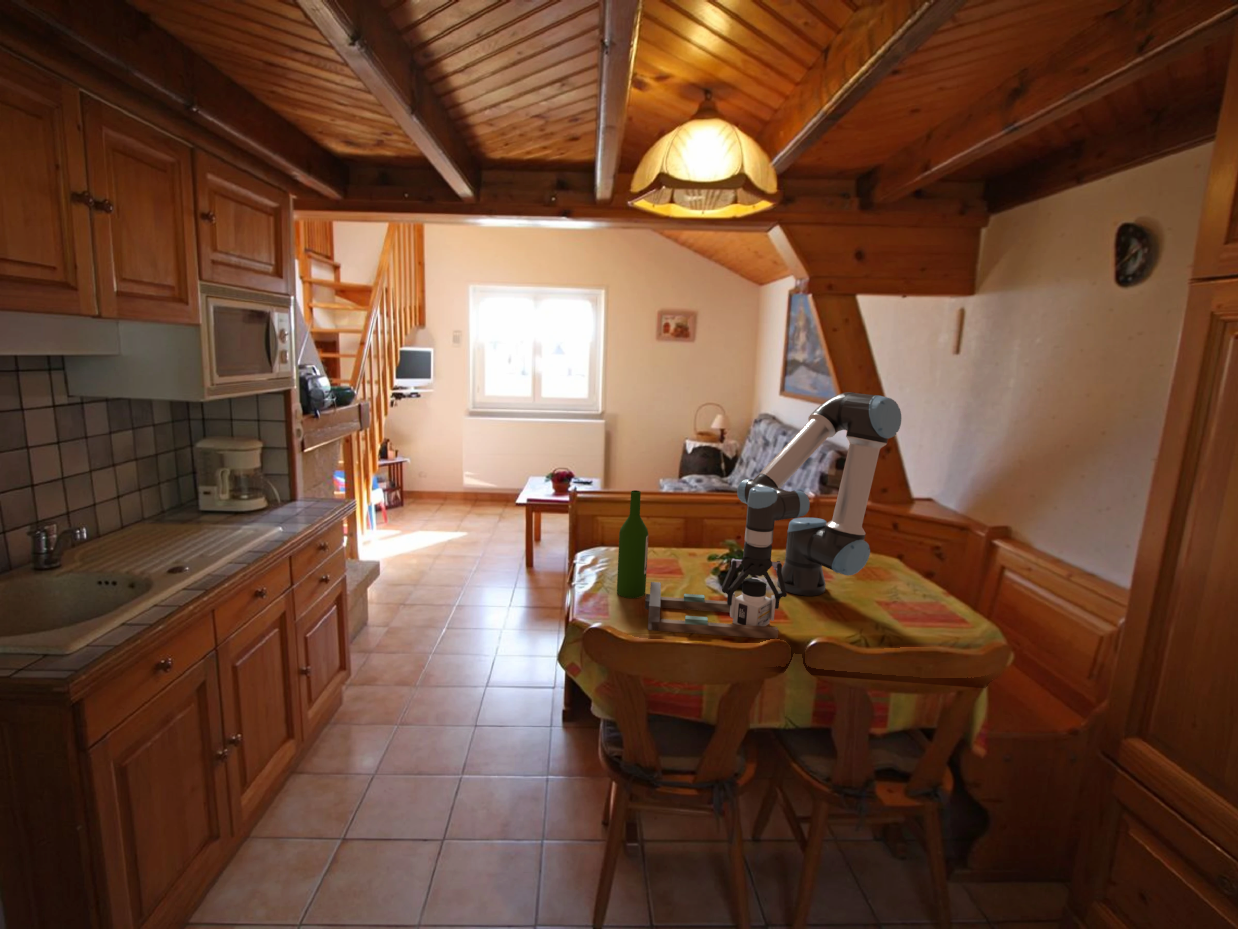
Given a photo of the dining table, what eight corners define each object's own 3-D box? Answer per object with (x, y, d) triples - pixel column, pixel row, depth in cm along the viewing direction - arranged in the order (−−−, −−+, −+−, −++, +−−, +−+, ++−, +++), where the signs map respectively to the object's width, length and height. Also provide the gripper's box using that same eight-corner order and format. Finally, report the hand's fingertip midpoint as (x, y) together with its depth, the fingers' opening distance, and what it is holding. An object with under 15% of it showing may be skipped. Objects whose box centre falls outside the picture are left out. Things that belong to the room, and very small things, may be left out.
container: (756, 632, 173) (760, 588, 171) (731, 623, 178) (735, 580, 176) (769, 623, 179) (774, 580, 176) (746, 615, 184) (749, 573, 181)
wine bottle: (648, 598, 193) (653, 495, 186) (619, 598, 192) (623, 495, 185) (642, 586, 202) (647, 487, 195) (614, 587, 200) (618, 487, 194)
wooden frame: (767, 612, 187) (769, 590, 185) (777, 639, 170) (779, 615, 169) (645, 603, 189) (646, 581, 188) (643, 629, 172) (644, 605, 171)
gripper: (797, 541, 177) (790, 614, 181) (715, 535, 178) (709, 608, 183) (803, 550, 169) (795, 626, 174) (717, 544, 171) (711, 620, 175)
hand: (751, 617), depth 178 cm, fingers closed on container, 10 cm apart
